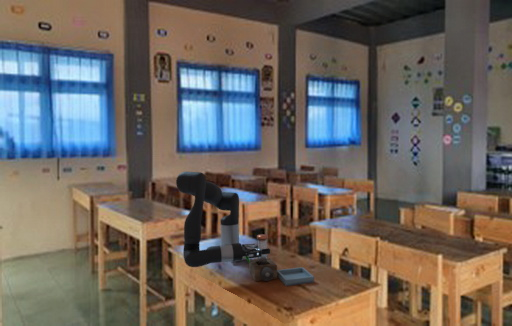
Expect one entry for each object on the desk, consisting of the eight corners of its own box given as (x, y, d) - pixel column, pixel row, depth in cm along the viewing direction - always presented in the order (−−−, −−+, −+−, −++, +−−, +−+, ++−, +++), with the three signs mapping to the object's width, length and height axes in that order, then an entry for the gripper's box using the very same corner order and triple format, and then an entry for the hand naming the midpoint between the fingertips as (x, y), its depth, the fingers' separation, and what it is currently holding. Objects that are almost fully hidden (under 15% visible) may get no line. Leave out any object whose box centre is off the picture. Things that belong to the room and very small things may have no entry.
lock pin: (256, 268, 184) (255, 234, 182) (266, 267, 185) (265, 233, 183) (259, 271, 179) (258, 237, 178) (269, 270, 180) (269, 236, 179)
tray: (276, 275, 182) (276, 270, 182) (302, 272, 185) (302, 267, 185) (285, 286, 170) (285, 280, 170) (314, 282, 173) (313, 276, 173)
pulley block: (249, 273, 186) (248, 260, 185) (270, 271, 188) (270, 258, 188) (256, 283, 174) (256, 269, 173) (279, 280, 176) (278, 266, 176)
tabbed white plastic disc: (251, 255, 210) (258, 239, 205) (259, 266, 205) (266, 250, 200) (226, 261, 202) (232, 244, 196) (234, 273, 196) (240, 256, 191)
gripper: (233, 248, 170) (272, 244, 175) (227, 240, 184) (263, 236, 188) (234, 266, 171) (272, 262, 175) (227, 256, 185) (263, 252, 189)
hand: (267, 248), depth 182 cm, fingers open, 5 cm apart
